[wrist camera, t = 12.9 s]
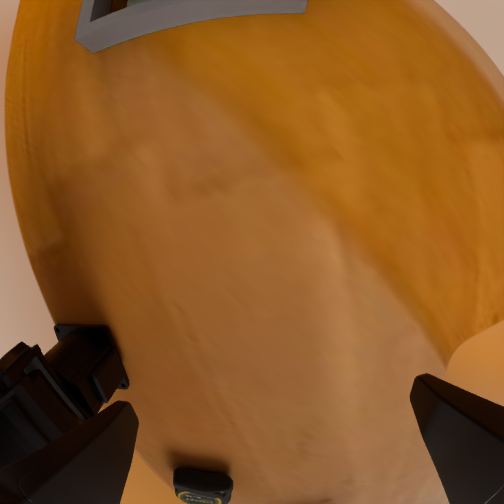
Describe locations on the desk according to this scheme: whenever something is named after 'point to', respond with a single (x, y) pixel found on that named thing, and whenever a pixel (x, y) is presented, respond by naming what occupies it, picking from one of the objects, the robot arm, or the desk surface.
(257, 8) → the charging station
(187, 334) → the desk surface
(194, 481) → the tape measure
